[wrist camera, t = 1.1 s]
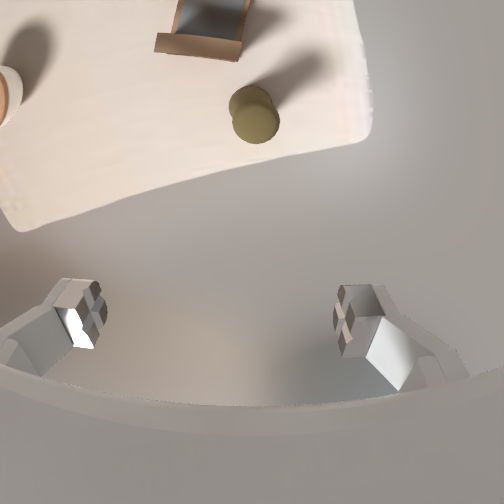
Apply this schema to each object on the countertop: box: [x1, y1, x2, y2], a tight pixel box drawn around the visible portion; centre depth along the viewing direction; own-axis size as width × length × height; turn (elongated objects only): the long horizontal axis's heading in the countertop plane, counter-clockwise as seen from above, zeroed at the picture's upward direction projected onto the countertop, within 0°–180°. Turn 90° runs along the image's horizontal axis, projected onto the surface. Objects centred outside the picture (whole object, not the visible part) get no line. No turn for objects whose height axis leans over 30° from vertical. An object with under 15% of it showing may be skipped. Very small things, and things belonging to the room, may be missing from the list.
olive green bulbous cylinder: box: [229, 86, 280, 144], centre depth 34 cm, size 6×6×11 cm
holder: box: [154, 0, 250, 62], centre depth 26 cm, size 14×9×8 cm
